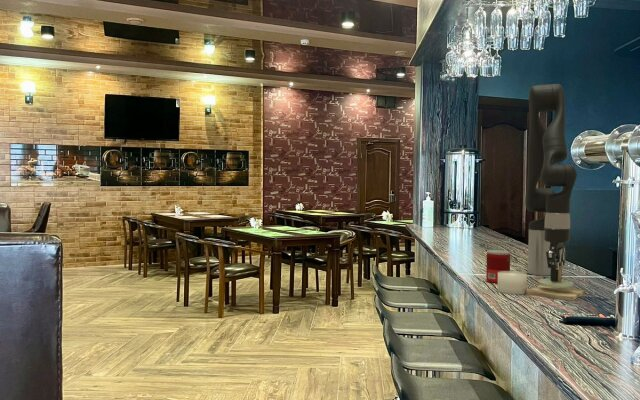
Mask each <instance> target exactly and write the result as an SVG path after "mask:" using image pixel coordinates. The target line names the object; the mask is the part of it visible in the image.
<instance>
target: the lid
mask: <svg viewBox="0 0 640 400" xmlns="http://www.w3.org/2000/svg"><path fill="white" fill-rule="evenodd" d="M561 269H562V270H563V268H562V266H559V269H558V281H557V282H555V281H551V280H550V278H541V279H539V282H538V283H539V285H543V286H548V287H557V288H572V287H574V282H573V281H571V280H568V279H563V278H562V279H561Z"/></svg>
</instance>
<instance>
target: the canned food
mask: <svg viewBox="0 0 640 400" xmlns="http://www.w3.org/2000/svg"><path fill="white" fill-rule="evenodd" d="M500 271H511V252H510V251H508V250H500V249H499V250H498V249H490V250H486V274H485V277H486V282H487V283H490V284H494V283H495V284H497V285H498V272H500Z"/></svg>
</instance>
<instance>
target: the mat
mask: <svg viewBox="0 0 640 400" xmlns="http://www.w3.org/2000/svg"><path fill="white" fill-rule="evenodd" d="M585 294H586V290H585V289H578V288H572V287H569V288H557V287H548V286H543V285H540V284H539V285H537V286H535V287H533V288H530V289H527V291H526V293H525V295H531V296H538V297H545V298H553V299H557V300H558V299H559V300H567V301H574V300H577V299H578V298H580V297H581V296H583V295H585Z"/></svg>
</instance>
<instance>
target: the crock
mask: <svg viewBox="0 0 640 400" xmlns="http://www.w3.org/2000/svg"><path fill="white" fill-rule="evenodd" d="M527 287H528V273H526V272H524V271H523V272H522V271H516V270H515V271H513V270H510V271H500V272H498V284H497V292H499V293H501V294H506V295H526V291H527V290H528V288H527Z"/></svg>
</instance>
